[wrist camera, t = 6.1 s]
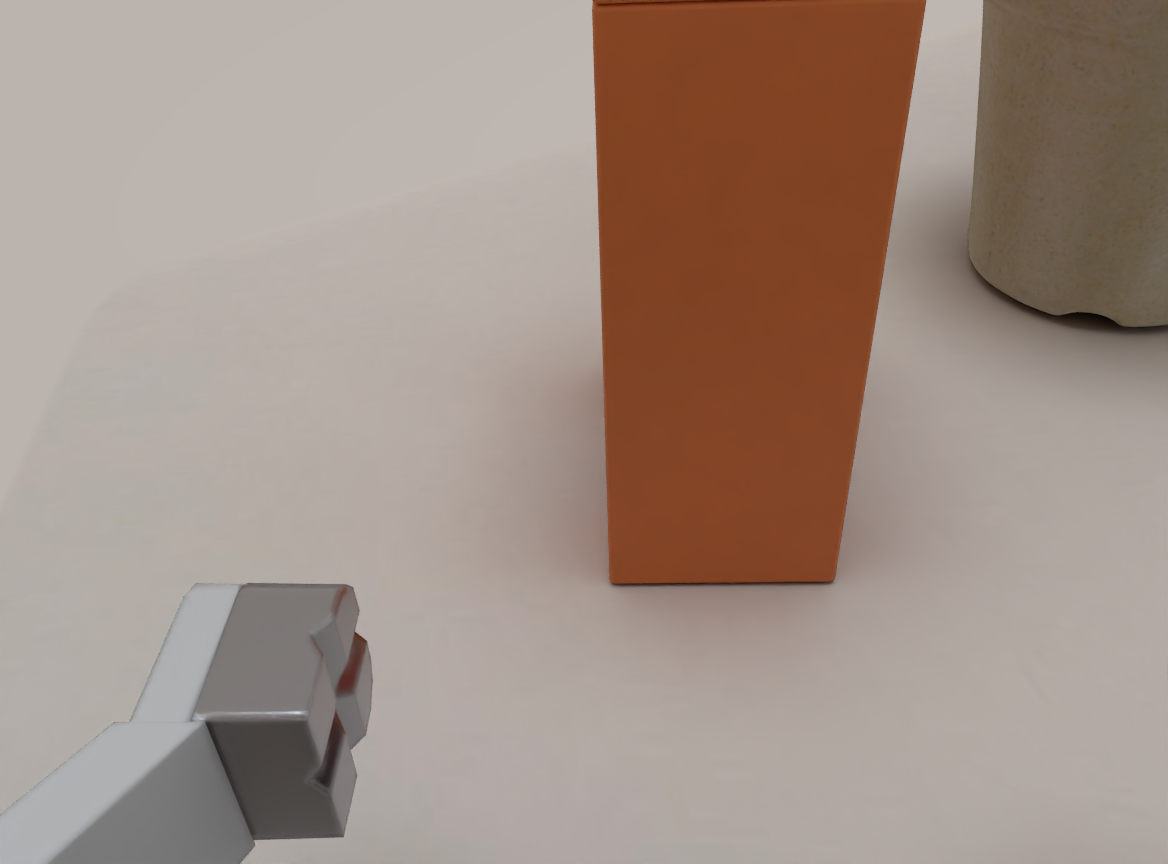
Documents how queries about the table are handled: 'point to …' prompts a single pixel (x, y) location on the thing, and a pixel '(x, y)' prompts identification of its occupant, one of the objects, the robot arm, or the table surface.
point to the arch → (741, 272)
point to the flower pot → (1074, 157)
